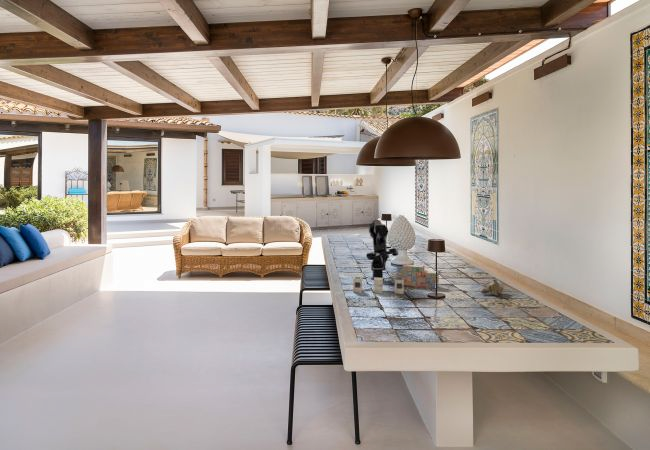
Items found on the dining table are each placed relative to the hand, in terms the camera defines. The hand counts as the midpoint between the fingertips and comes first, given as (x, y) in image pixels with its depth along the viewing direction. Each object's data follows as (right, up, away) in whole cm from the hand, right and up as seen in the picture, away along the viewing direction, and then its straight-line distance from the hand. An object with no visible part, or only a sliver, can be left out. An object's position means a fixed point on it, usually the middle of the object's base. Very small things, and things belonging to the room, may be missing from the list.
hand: (383, 267), depth 292 cm
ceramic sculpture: (+61, -14, -16) cm, 65 cm away
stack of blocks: (+24, -12, +6) cm, 27 cm away
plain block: (-4, -13, -11) cm, 18 cm away
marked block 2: (+8, -14, -12) cm, 20 cm away
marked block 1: (-16, -13, -10) cm, 23 cm away
